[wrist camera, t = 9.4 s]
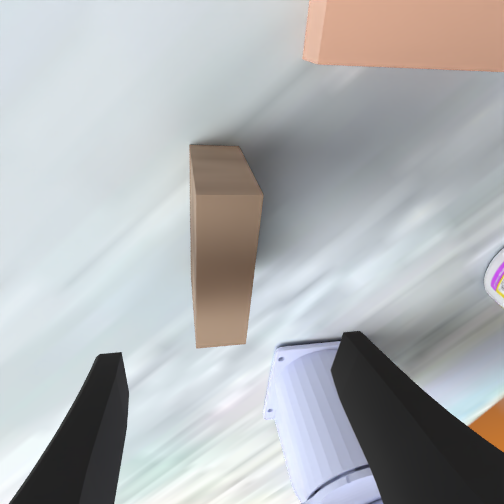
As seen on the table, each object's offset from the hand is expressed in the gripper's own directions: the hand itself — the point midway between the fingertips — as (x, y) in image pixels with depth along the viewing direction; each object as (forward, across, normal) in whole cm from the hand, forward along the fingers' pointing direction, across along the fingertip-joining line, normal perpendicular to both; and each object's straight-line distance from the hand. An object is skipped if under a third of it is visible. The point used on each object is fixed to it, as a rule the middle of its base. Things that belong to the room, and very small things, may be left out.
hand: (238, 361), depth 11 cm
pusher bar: (+10, 0, 0) cm, 10 cm away
